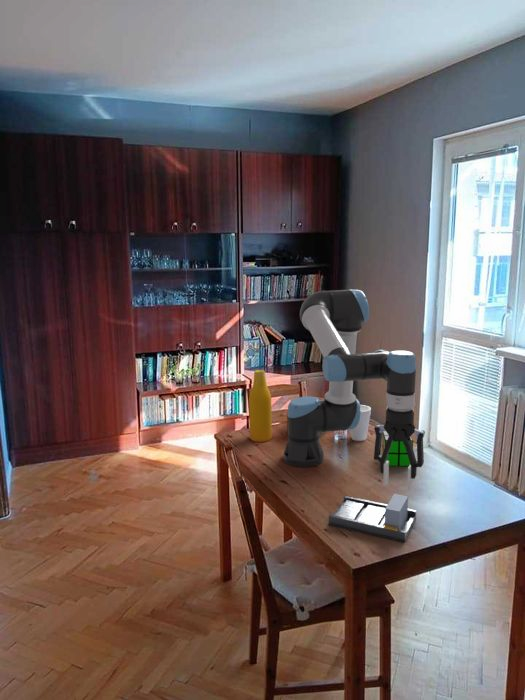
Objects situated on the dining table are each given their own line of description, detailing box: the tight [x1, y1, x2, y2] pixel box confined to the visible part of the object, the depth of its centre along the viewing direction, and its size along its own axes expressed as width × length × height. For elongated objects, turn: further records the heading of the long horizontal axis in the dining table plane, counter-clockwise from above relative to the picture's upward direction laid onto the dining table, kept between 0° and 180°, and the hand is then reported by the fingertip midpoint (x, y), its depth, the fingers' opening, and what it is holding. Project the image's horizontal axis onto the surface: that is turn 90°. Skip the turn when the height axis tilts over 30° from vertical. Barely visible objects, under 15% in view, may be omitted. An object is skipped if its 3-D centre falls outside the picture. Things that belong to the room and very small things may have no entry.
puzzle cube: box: [381, 430, 414, 467], centre depth 205 cm, size 10×10×10 cm
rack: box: [328, 495, 417, 543], centre depth 162 cm, size 22×14×4 cm, turn 63°
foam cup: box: [349, 404, 372, 442], centre depth 229 cm, size 10×9×13 cm
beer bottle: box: [248, 369, 273, 443], centre depth 229 cm, size 9×9×29 cm
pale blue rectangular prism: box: [385, 493, 409, 530], centre depth 158 cm, size 4×10×7 cm, turn 153°
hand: (397, 485), depth 157 cm, fingers open, 6 cm apart
